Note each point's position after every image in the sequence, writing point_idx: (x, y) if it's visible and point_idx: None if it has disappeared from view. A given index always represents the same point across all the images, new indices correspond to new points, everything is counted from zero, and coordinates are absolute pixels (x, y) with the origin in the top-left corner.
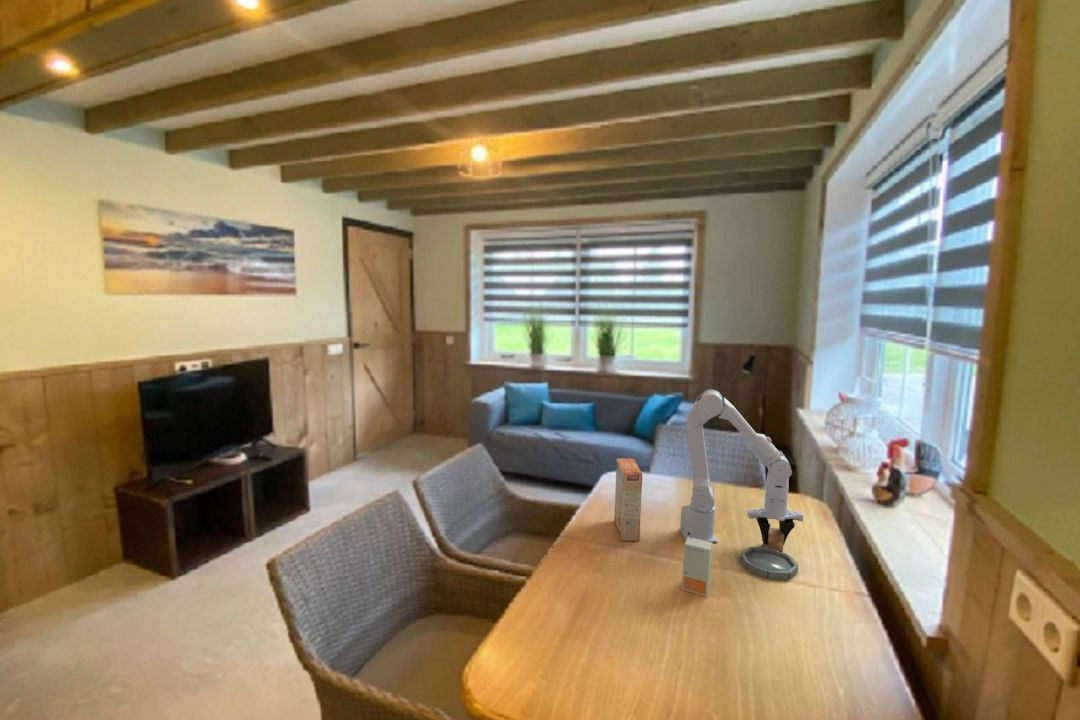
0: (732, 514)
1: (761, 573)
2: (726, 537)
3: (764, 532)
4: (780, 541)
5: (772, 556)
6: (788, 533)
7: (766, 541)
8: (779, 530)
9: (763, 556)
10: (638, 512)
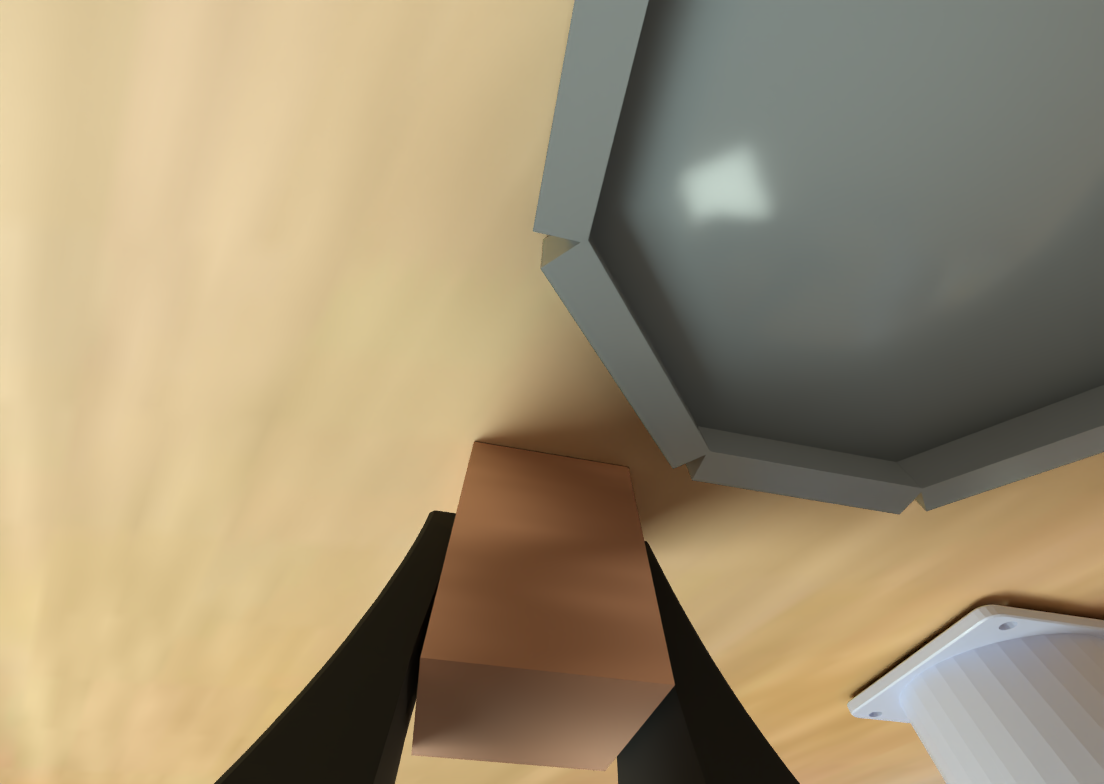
0: (545, 777)
1: None
2: (816, 642)
3: (749, 720)
4: (495, 548)
5: (766, 312)
6: (323, 682)
7: (651, 569)
8: (427, 728)
9: (902, 324)
10: None
